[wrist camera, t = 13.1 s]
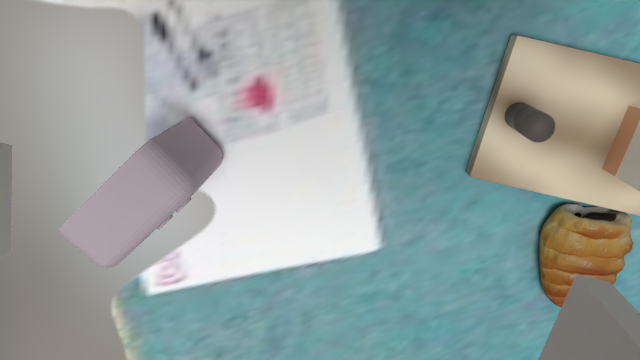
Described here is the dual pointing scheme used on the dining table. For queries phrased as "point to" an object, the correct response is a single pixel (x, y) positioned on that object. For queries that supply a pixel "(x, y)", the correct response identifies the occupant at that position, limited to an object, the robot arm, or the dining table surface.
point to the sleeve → (626, 150)
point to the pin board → (557, 123)
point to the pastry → (581, 247)
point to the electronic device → (143, 194)
